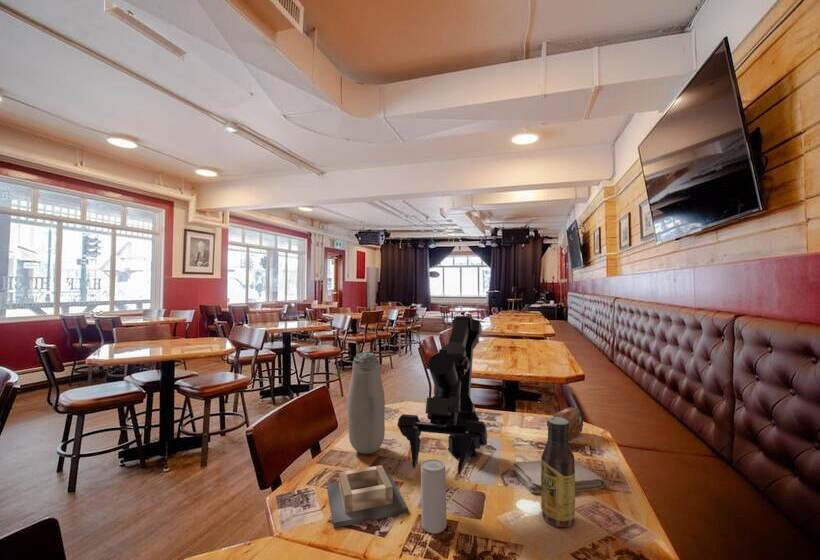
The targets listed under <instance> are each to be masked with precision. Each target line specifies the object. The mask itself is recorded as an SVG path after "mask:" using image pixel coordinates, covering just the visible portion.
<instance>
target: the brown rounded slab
mask: <svg viewBox="0 0 820 560" xmlns="http://www.w3.org/2000/svg"><path fill="white" fill-rule="evenodd" d="M552 417H561V418H564V419H566V420H568V421H569V430H568V440H569V442H570V441H571V440H574V439H576V438H577V437H579V436H580V435H581V433H582V430H583V427H584V416H583V413H582V411H581V410H580V409H579V408H577V407H571V406H570V407H567V408H564V409H562V410H561V411H558V412H556V413H554V415H553V416H552Z"/></svg>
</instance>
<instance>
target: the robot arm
mask: <svg viewBox="0 0 820 560" xmlns="http://www.w3.org/2000/svg"><path fill="white" fill-rule="evenodd" d="M481 335H482V323H481V322H480V320H478V319H475V318H472V317H471V316H469V315H457V316H454V317H453V319H452V321H451V332H450V335H449V339H448V343H447V344H446V345H444V346H442V347H441V348H439V349H438V350H439V351H438V353H436V354H433V355H432V356H431V357H430V359H428V361H427V367H428V371H429V373H430V376H431V379H432V382H433V384H434V385H435V386H436V387H435V391H434V395H433V397H432V396H431V397H430V396H429V397H428V396H427V397H426V402H425V403H426V404H425V405H426V406H425V414H427V416H426V417H427V419H428V420H430V421H429V422H427V421H425V422H424V421H420V418H419V416H418V415H417V414H408V413H407V414H406V413H403V414H401V415H400V416H399V417H398V421H397V427H398V429H399V431H400V433H401V436H403V437H405V438H406V440H407V441H409V446H410V455H411V461H412V462H411V465H412V468H413V469H416V468H417V464H418V461H419V454H420V447H421V437H420V436H421V435H422V432H423V433H433V434H434V433H435V434H445V435H448V440H447V441H448V447H447V451H448V452H450V454H451V455H452V456H453V457H454V458H455V459H456V460H458V465H457V475H459V476H460V475H461V474H462V472H463V471H464V468H465V466H466V465H467V462H468V461H469V459H470V458H473V457H478V456H479V453H478V452H477V451H476V449H478V450H479V449H481V446H487V445H488V431H487V425H486V423H485V422H484V421H482V420H480V417H479V416H478V413H477V411H476V407H475V405H474V403H473V401H472V398H471V388H472V374H473V372H472V371H473V360H474V358H473V356H474V349H475V348H476V346H477V345H478V344H479V343H480V336H481Z"/></svg>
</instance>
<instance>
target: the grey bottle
mask: <svg viewBox="0 0 820 560" xmlns="http://www.w3.org/2000/svg"><path fill="white" fill-rule="evenodd" d="M385 398H386V397H385V389H384V385H383V381H382V377H381V369H380V361H379V358H378V356H377V355H376V354H375V353H373V352H370V351H364V352H363V351H362V352H360V353H358V354H357V355H355V356H354V358H353V361H352V369H351V378H350V383H349V386H348V392H347V416H348V418H347V422H348V424H347V425H348V439H349V443H350V444H351V447H352V448H353V449H354V450H355V451H356V452H357V453H360V454H364V455H371V454H374V453H375V452H377V451H379V449H380V448H381V446H382V444H383V442H384V440H385V434H386V433H385V430H386V427H385V423H386V420H385V415H386V414H385V412H386V410H385V408H386V407H385V404H386V403H385V402H386V401H385Z"/></svg>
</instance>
